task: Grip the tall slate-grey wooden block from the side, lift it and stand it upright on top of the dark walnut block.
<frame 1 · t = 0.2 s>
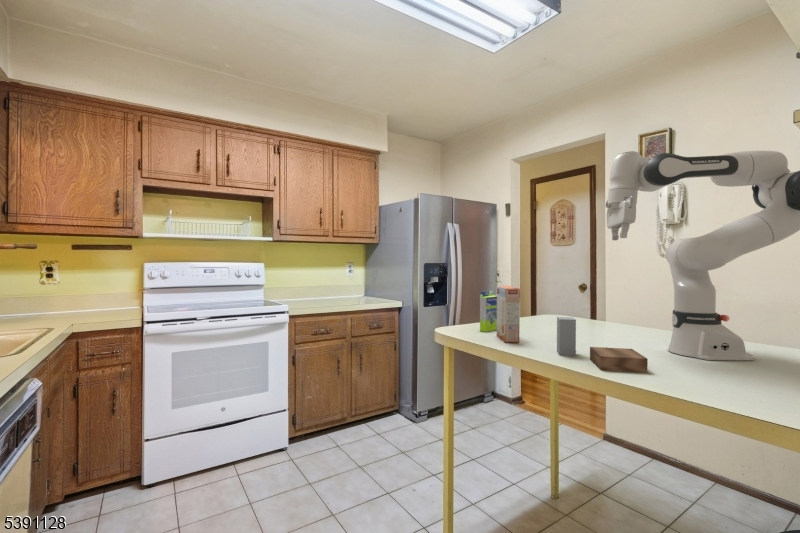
hand: (619, 239, 133), 39 cm above the table, tool pointing down, fingers open, 8 cm apart
walnut block: (616, 365, 114), on the table
box: (489, 330, 172), on the table
grey block: (565, 353, 129), on the table
cracker box: (507, 339, 152), on the table
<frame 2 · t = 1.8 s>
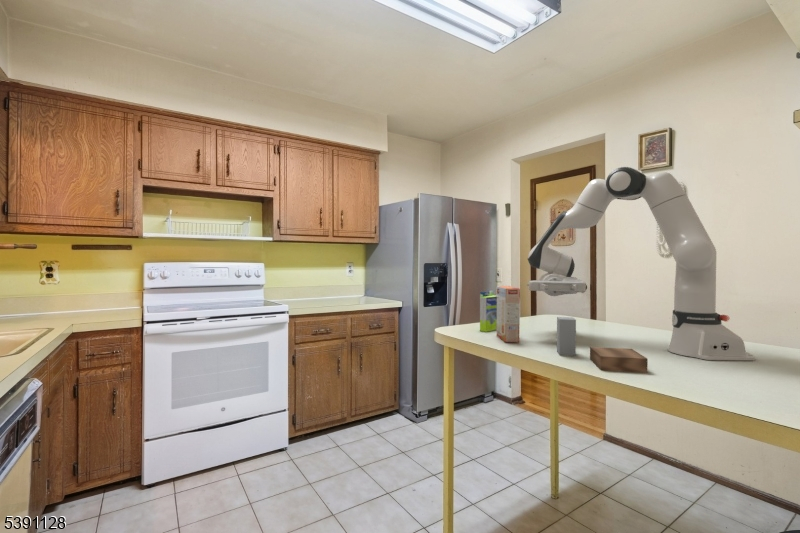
hand: (559, 287, 140), 21 cm above the table, tool horizontal, fingers open, 8 cm apart
nothing on the table moved.
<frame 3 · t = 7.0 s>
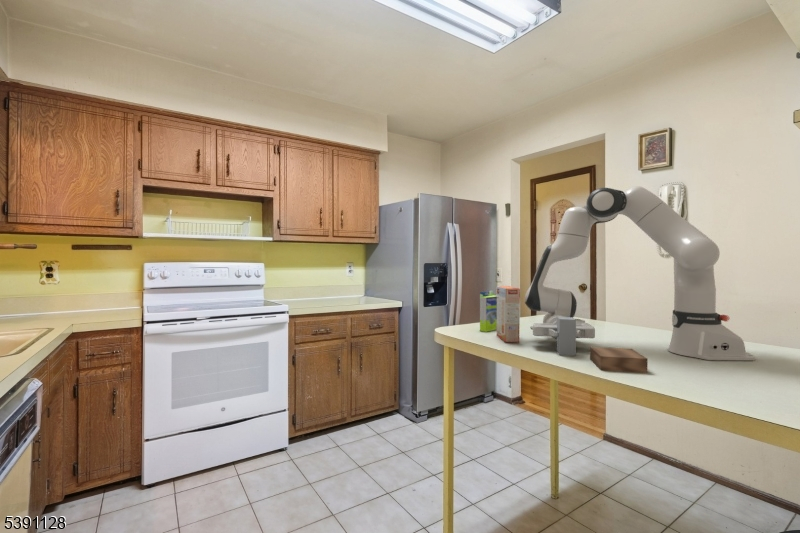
hand: (566, 334, 128), 7 cm above the table, tool horizontal, fingers closed on grey block, 5 cm apart
grey block: (566, 353, 129), on the table, touching gripper
everything else where it was.
when the fingers open (11 cm above the table, at t = 12.9 s): grey block stays where it is, resting on walnut block.
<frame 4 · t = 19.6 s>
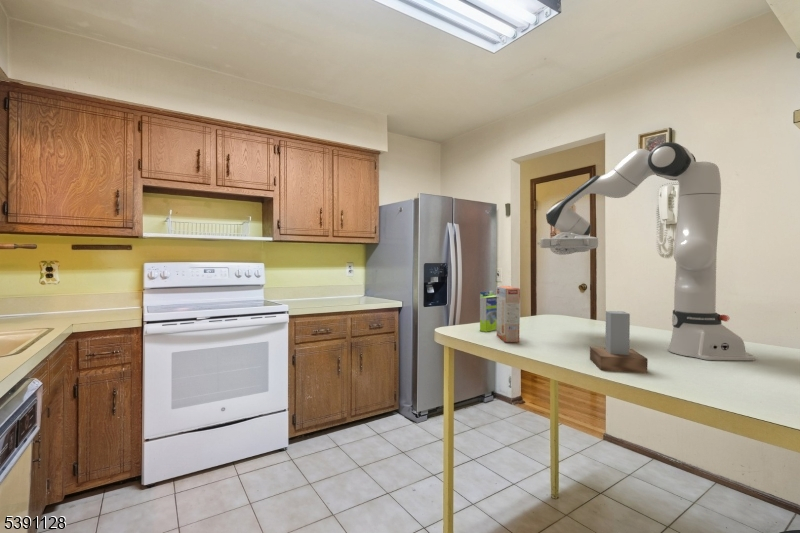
hand: (571, 242, 139), 38 cm above the table, tool horizontal, fingers open, 8 cm apart
grey block: (617, 352, 114), point 4 cm above the table, touching walnut block
everything else where it was.
at the end: grey block inside the target area on the walnut block (0.0 cm from its centre), point 4.0 cm above the walnut block's base; grey block tilted 0°; the gripper is holding nothing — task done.
